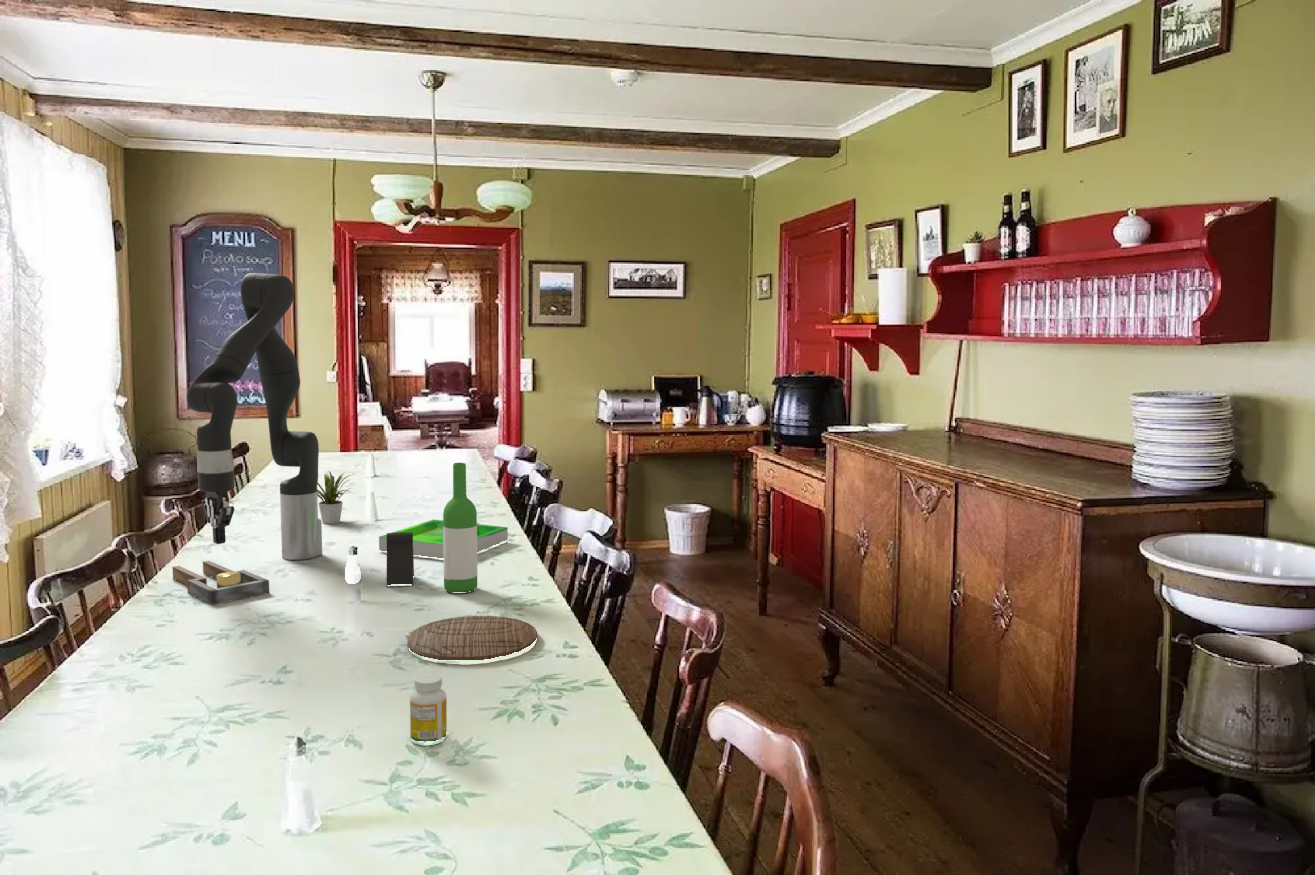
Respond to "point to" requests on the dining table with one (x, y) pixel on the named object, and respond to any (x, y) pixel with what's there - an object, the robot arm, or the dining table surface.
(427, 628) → the trivet
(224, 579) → the tan rounded block
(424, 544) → the tray
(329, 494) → the house plant
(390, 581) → the door stopper
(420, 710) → the supplement bottle
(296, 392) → the robot arm
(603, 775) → the dining table surface
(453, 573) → the wine bottle
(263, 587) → the chute
